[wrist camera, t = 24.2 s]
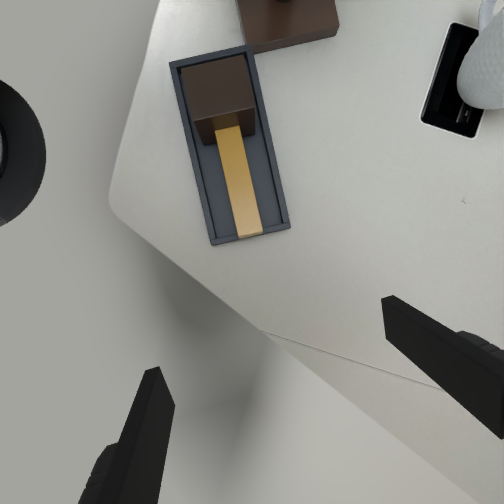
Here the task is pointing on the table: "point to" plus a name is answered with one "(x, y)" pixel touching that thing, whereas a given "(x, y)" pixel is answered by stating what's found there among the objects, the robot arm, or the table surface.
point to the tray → (211, 165)
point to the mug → (484, 62)
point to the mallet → (227, 129)
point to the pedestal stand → (285, 22)
